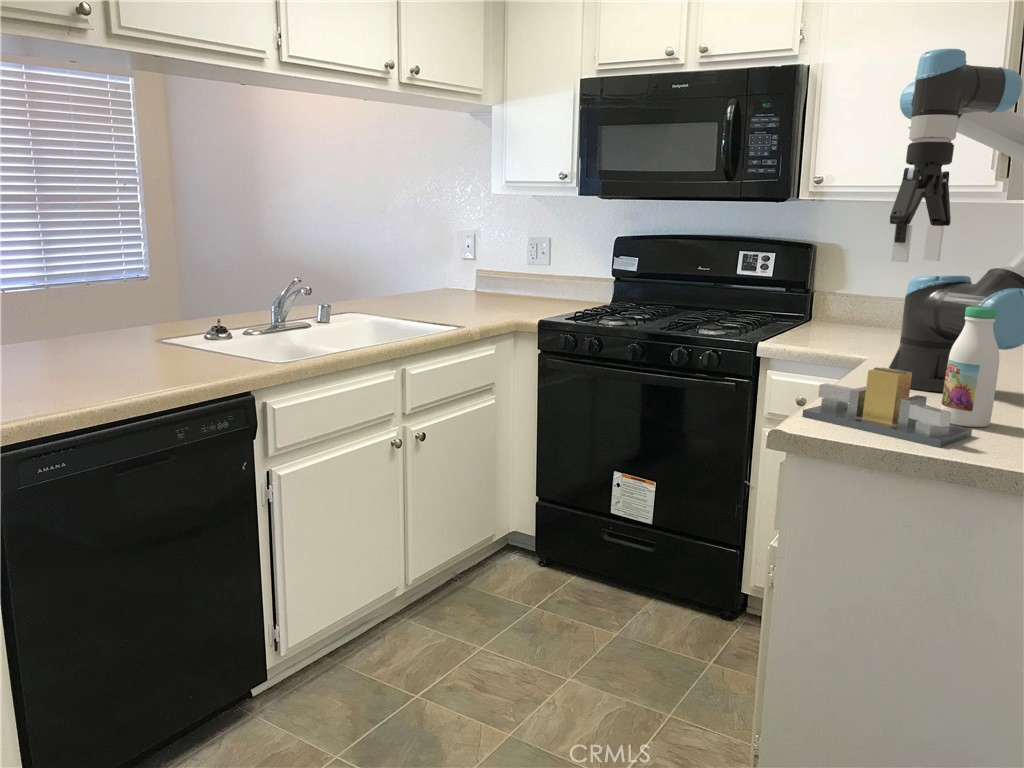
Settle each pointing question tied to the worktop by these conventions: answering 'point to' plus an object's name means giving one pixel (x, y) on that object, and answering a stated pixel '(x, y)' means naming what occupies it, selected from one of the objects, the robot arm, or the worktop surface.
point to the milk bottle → (972, 370)
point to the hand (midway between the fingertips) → (915, 261)
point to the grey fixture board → (912, 423)
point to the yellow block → (885, 393)
